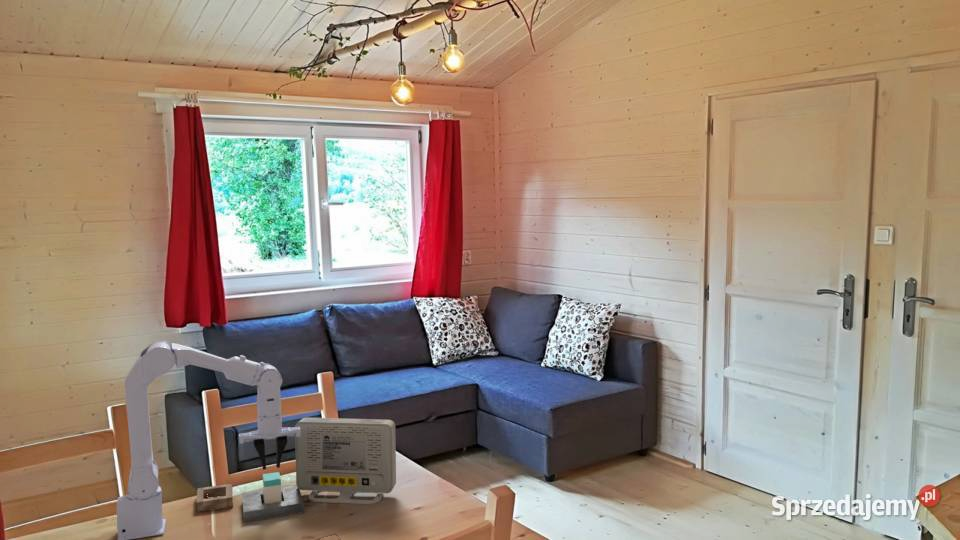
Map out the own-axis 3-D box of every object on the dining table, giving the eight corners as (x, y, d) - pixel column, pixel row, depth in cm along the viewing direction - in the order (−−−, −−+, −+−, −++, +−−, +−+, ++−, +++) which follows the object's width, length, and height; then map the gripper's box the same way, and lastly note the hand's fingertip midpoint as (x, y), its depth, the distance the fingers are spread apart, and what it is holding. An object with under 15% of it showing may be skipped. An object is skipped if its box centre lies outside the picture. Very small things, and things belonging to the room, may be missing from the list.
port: (244, 522, 163) (243, 512, 163) (242, 502, 175) (241, 493, 174) (303, 512, 168) (303, 502, 168) (298, 494, 180) (298, 485, 179)
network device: (398, 491, 181) (397, 417, 180) (390, 505, 172) (389, 427, 171) (304, 487, 184) (302, 414, 182) (292, 501, 175) (290, 424, 173)
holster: (196, 512, 169) (196, 502, 169) (197, 497, 178) (197, 488, 178) (232, 506, 172) (232, 497, 172) (232, 492, 181) (231, 483, 181)
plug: (265, 512, 169) (264, 481, 168) (263, 504, 173) (262, 474, 173) (281, 510, 170) (280, 478, 169) (280, 502, 175) (279, 471, 174)
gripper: (238, 421, 163) (241, 477, 164) (301, 415, 168) (302, 468, 169) (238, 414, 170) (240, 467, 171) (298, 407, 175) (299, 459, 176)
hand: (271, 467), depth 171 cm, fingers open, 3 cm apart
